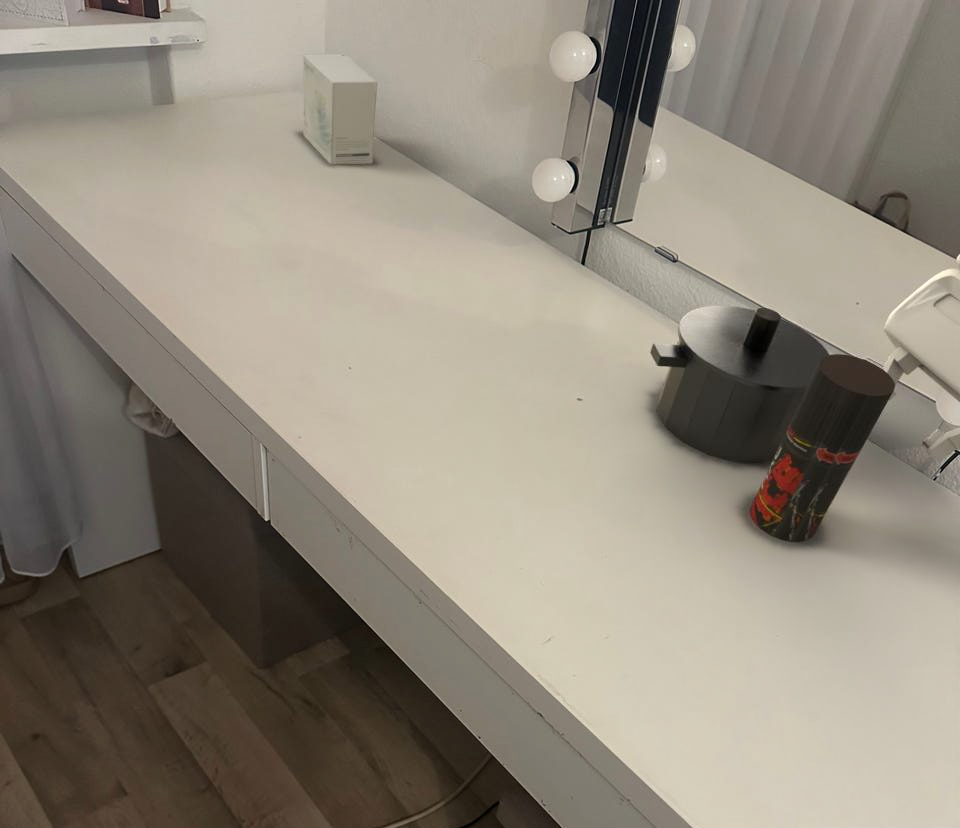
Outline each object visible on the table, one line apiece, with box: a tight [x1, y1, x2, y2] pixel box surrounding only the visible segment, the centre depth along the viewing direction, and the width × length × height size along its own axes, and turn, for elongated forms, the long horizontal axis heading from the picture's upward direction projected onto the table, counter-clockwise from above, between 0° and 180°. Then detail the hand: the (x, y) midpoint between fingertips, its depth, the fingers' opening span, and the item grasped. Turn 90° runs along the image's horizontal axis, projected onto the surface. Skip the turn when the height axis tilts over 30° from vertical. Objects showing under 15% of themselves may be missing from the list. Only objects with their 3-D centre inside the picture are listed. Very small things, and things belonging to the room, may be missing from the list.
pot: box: [649, 339, 806, 465], centre depth 87 cm, size 14×19×8 cm
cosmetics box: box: [302, 53, 378, 165], centre depth 120 cm, size 10×6×10 cm, turn 28°
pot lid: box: [677, 305, 830, 392], centre depth 83 cm, size 15×15×4 cm
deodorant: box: [749, 353, 896, 543], centre depth 75 cm, size 6×6×15 cm
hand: (898, 425), depth 79 cm, fingers open, 8 cm apart
